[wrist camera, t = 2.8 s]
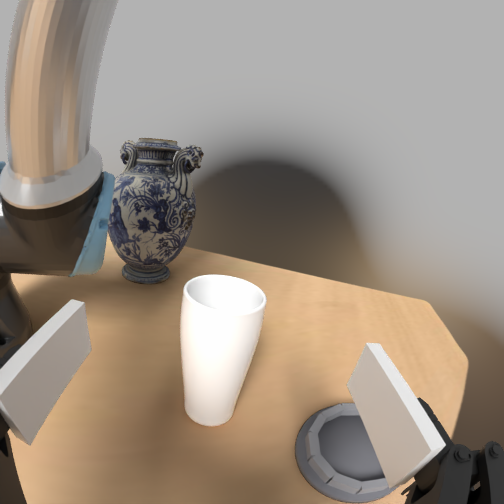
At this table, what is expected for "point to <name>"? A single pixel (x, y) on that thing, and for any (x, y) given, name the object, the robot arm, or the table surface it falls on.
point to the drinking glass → (217, 343)
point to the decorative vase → (152, 207)
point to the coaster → (340, 456)
